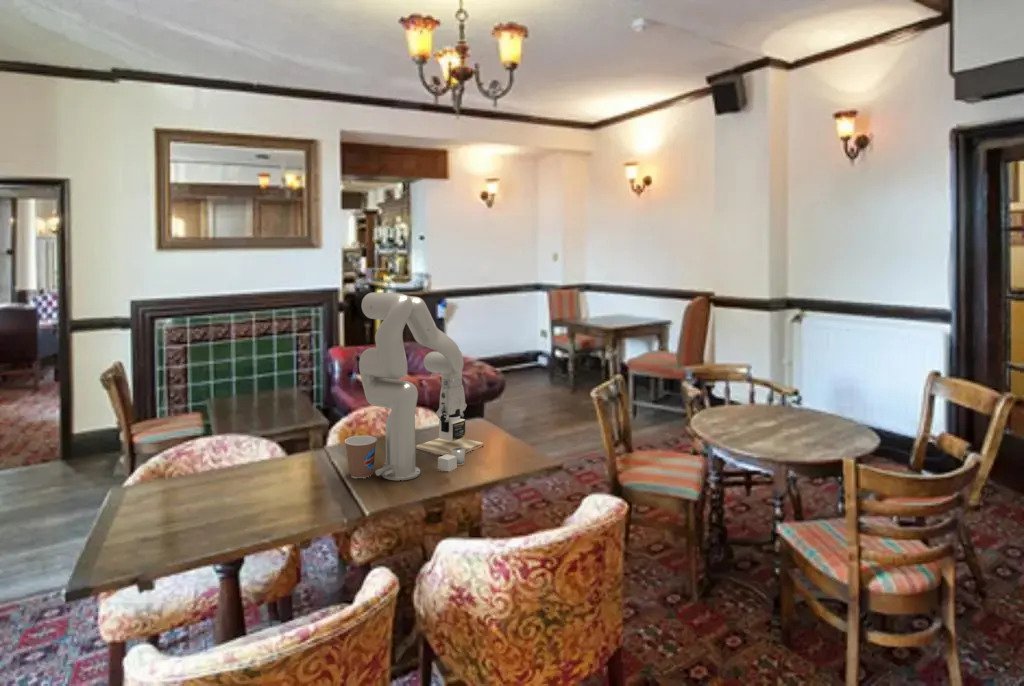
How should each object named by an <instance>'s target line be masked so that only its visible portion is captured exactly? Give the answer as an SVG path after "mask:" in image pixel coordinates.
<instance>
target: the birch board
mask: <svg viewBox="0 0 1024 686" xmlns="http://www.w3.org/2000/svg"><path fill="white" fill-rule="evenodd" d="M482 444H484V442H481V441H476V440H472V439H469V438H467V439H466V438H462V439H460V440H457V441H454V442H452V441H448V440H444V439H440V438H439V437H438V438H435V439H431V440H429V441H426V442H422V443H419V444H417V445H416V444H415V449H416V448H417V449H421V450H425V451H430V452H435V453H438V454H443V455H446V454H448V455H452V449H454V448H463V449H465V452H466V451H468V450H471V449H473V448H475V447H478V446H480V445H482ZM484 445H485V444H484Z"/></svg>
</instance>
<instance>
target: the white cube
mask: <svg viewBox="0 0 1024 686" xmlns="http://www.w3.org/2000/svg"><path fill="white" fill-rule="evenodd" d="M455 468H457V469H458V466H457V457H456V456H452V455H448V454H446V455H443V456H438V457H437V470H438V469H441V470H444V471H451V470H453V469H455ZM451 472H452V471H451Z"/></svg>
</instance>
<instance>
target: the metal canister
mask: <svg viewBox="0 0 1024 686" xmlns="http://www.w3.org/2000/svg"><path fill="white" fill-rule="evenodd" d="M465 455H466V454H465V449H463V448H454V449H452V456H456V457H457V464H462V463H464V462H465V460H466V456H465Z"/></svg>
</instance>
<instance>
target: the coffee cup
mask: <svg viewBox="0 0 1024 686" xmlns="http://www.w3.org/2000/svg"><path fill="white" fill-rule="evenodd" d="M377 441H378V438H377V437H375V436H374V435H373V436H372V435H355V436H349V437H347V438H346V439H344V443H345V448H346V449H345V450H346V454H347V455H346V456H347V462H348V468H349V469H348V470H349V474H350V477H351V478H353V479H357V478H363V479H367V478H366V477H368V478H370V477H371V475H372V476H373V472H374V467H375V456H376V444H377ZM369 476H370V477H369Z"/></svg>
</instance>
